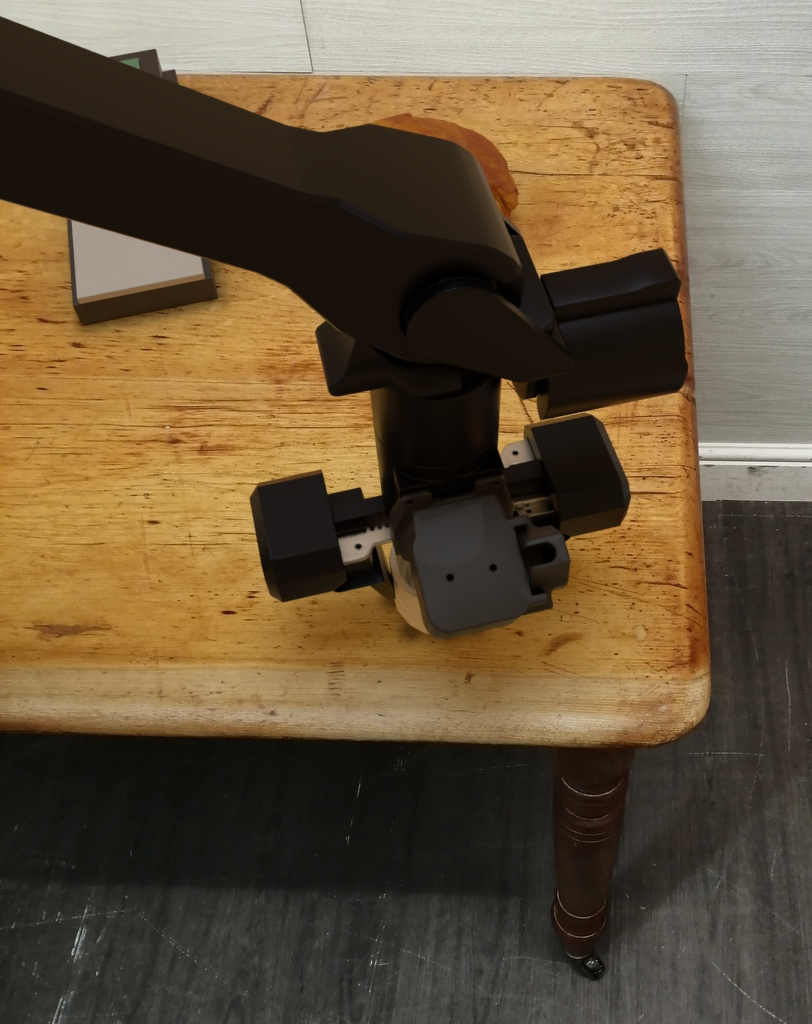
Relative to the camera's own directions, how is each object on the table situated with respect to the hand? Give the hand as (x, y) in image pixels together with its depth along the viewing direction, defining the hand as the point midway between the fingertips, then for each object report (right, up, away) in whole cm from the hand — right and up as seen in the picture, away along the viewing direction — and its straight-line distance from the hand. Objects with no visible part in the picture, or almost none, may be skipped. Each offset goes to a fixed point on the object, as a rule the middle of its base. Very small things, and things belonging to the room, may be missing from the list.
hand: (440, 581), depth 58 cm
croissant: (-1, +26, +18) cm, 32 cm away
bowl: (0, -1, +1) cm, 1 cm away
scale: (-24, +29, +21) cm, 43 cm away
